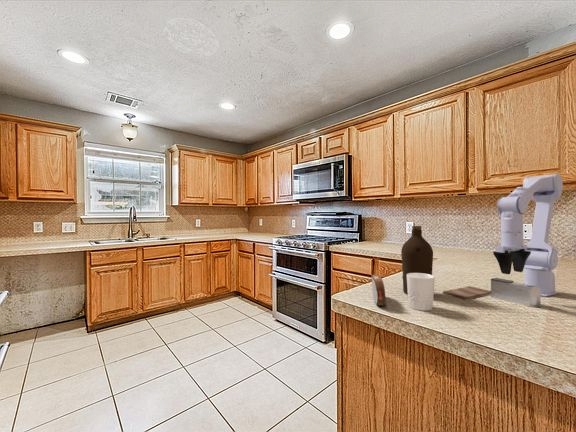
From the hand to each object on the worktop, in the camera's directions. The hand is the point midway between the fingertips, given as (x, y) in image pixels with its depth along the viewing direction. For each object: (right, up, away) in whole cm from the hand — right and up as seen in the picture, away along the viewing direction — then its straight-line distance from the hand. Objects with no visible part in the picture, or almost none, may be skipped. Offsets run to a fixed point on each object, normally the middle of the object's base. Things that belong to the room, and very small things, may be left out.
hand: (512, 272), depth 89 cm
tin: (-45, -10, 0) cm, 46 cm away
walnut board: (-9, -10, +8) cm, 16 cm away
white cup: (-34, -10, -6) cm, 36 cm away
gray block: (0, -9, 0) cm, 9 cm away
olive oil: (-27, -10, +9) cm, 31 cm away
